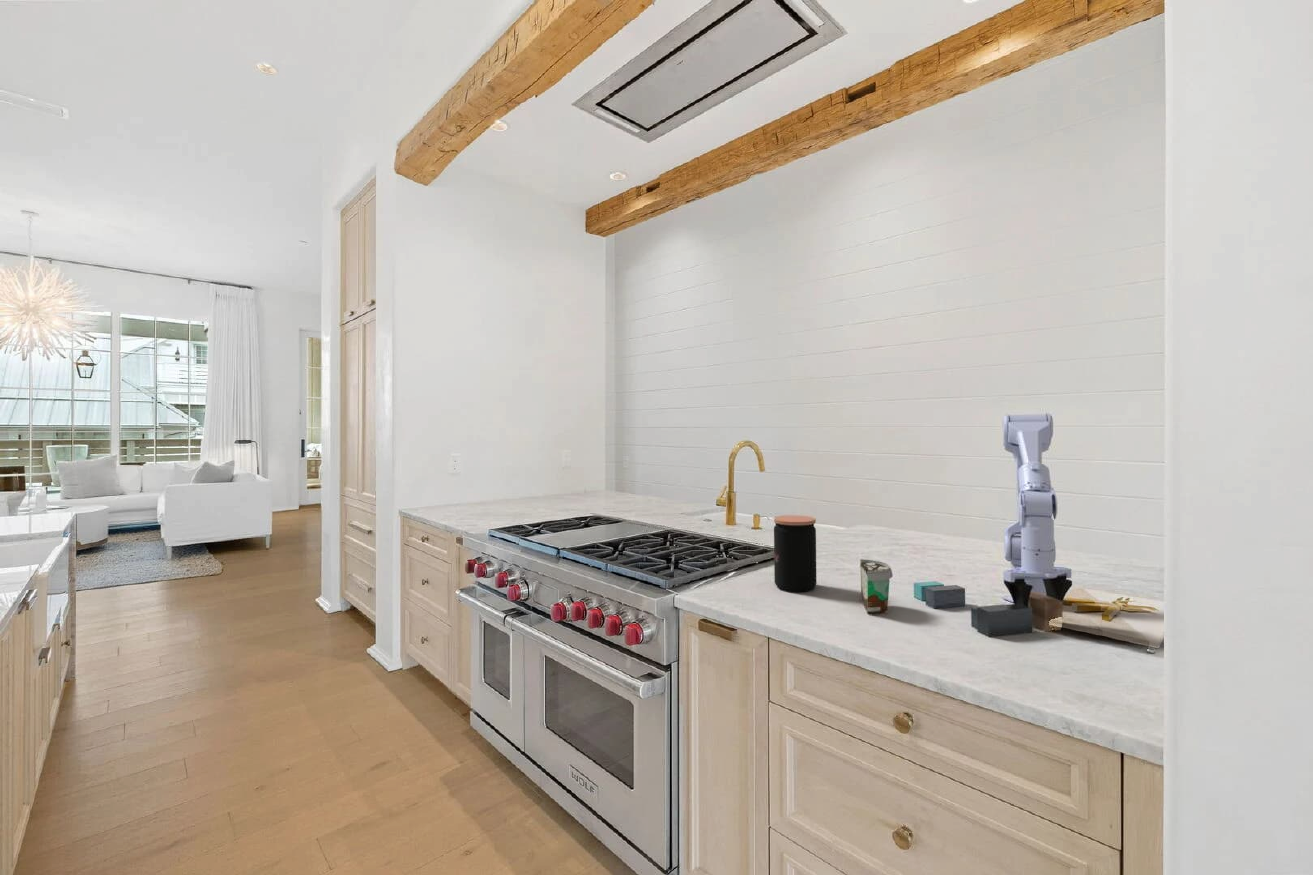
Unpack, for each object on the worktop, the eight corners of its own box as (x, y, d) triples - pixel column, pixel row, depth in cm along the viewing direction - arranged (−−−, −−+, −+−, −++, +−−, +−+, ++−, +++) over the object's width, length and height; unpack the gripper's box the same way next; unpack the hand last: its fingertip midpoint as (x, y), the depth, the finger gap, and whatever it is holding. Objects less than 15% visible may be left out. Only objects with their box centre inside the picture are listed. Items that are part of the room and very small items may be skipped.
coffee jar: (784, 579, 160) (783, 514, 160) (822, 585, 154) (821, 517, 154) (767, 589, 152) (766, 519, 151) (807, 595, 146) (806, 523, 145)
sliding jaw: (939, 594, 144) (939, 578, 144) (965, 605, 135) (965, 588, 135) (910, 597, 142) (909, 580, 142) (933, 608, 134) (933, 590, 133)
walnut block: (1030, 618, 127) (1030, 590, 126) (1062, 630, 119) (1062, 601, 119) (1014, 619, 126) (1014, 591, 126) (1045, 632, 118) (1045, 602, 118)
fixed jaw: (1009, 623, 123) (1009, 599, 123) (1032, 632, 117) (1032, 608, 117) (966, 626, 122) (966, 602, 121) (988, 636, 116) (988, 611, 116)
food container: (898, 618, 128) (897, 572, 127) (868, 616, 129) (867, 571, 129) (887, 601, 140) (887, 559, 140) (860, 600, 141) (860, 558, 141)
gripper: (1022, 554, 117) (1022, 622, 117) (1084, 550, 119) (1084, 617, 120) (995, 547, 124) (996, 611, 124) (1055, 544, 126) (1055, 606, 126)
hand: (1037, 613), depth 122 cm, fingers open, 7 cm apart
